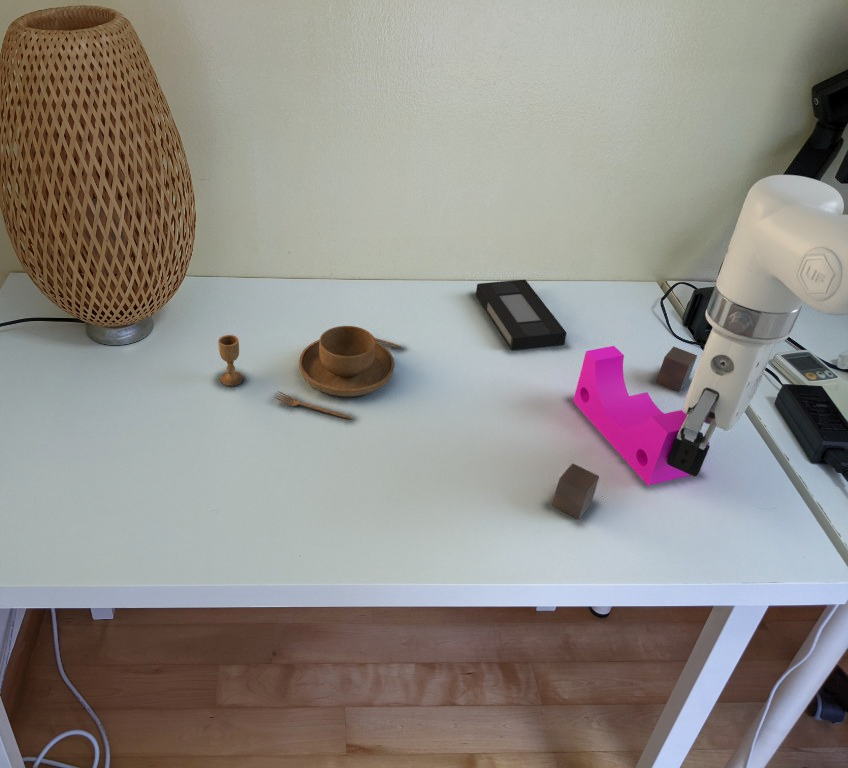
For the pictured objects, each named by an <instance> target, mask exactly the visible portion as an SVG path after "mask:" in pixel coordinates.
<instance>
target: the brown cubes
mask: <svg viewBox="0 0 848 768" xmlns="http://www.w3.org/2000/svg"><path fill="white" fill-rule="evenodd" d="M697 358H698V354H695V353H693V352H689V351H688V350H684V349H682V348H680V347H677V346H672V347H671V348H670V350H669V351H668V352H667V353H666V354H665V356H664V357H663V361H662V362H661V366H660V368H659V372H658V375H657V377H656V381H655V383H656V384H659V385H662V386H664V387H666V388H669V389H671V390H673V391H676V392H679V393H680V392H681V391H682V389H683V388H684V387H685V385H686V384H687V383H688V382H689V380H690V377H691V374H692V372H693V369H694V366H695V364H696V361H697ZM599 480H600V475H598V474H596V473H594V472H592V471H590V470H587V469H586V468H584V467H582V466H579V465H578V464H576V463H574V462H573V463H571V464H570V465H569V466H568V468H567V469H566V470H565V471H564V472H563V474H562V475H561V476H560V477H559V479H558V482H557V486H556V490H555V492H554V493H555V494H554V496H553V501H552V505H551V506H552V507H553V508H555V509H557V510H559V511H561V512H563V513H565V514H566V515H568V516H571V517H573V518H574V519H576V520H580V519H581V517H582V516H583V515H584V513H585V512H586V511H587V510H588V508H589V507H590V506H591V505H592V502H593V499H594V496H595V492H596V490H597V486H598V483H599Z"/></svg>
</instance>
